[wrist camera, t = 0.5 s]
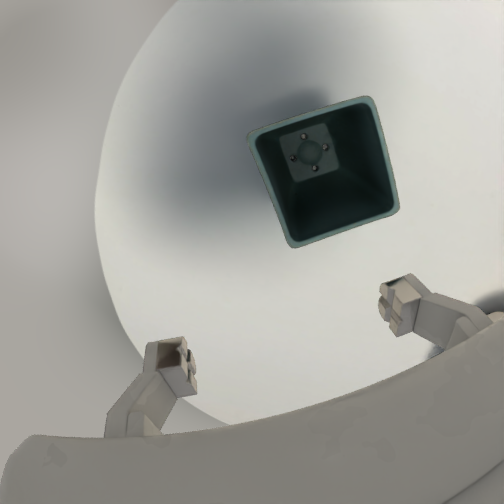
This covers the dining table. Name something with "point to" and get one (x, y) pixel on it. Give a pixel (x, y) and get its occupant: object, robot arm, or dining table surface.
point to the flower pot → (326, 170)
